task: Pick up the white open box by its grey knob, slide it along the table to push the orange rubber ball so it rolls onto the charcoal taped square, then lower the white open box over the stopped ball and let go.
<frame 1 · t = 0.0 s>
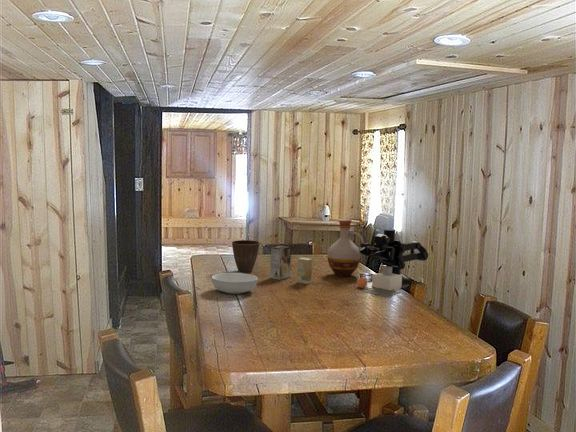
hand: (367, 252, 264), 17 cm above the table, tool horizontal, fingers open, 9 cm apart
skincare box: (304, 283, 269), on the table
plant pot: (245, 271, 293), on the table
serving bowl: (234, 292, 247), on the table
coffee box: (280, 278, 280), on the table
ball: (361, 282, 262), on the table
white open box: (386, 287, 265), on the table
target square: (382, 292, 254), on the table
jug: (344, 275, 291), on the table
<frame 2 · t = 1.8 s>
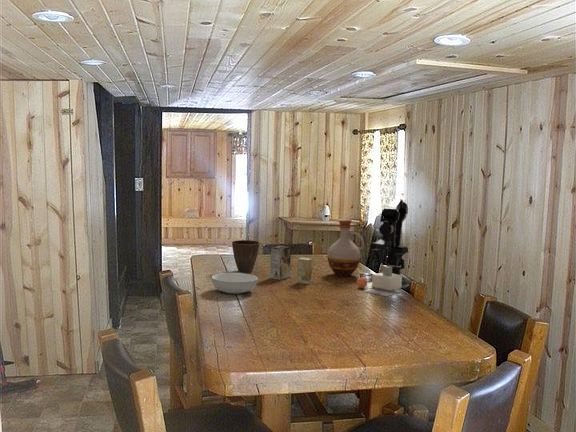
hand: (387, 265, 264), 11 cm above the table, tool pointing down, fingers open, 9 cm apart
nothing on the table moved.
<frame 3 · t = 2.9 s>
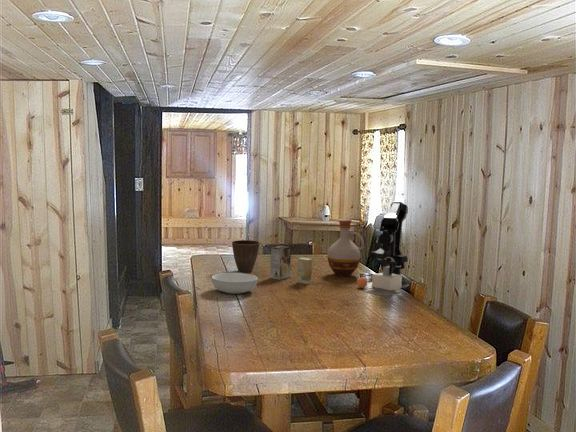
hand: (387, 274, 264), 6 cm above the table, tool pointing down, fingers closed on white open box, 3 cm apart
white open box: (386, 287, 265), on the table, touching gripper
everything else where it was.
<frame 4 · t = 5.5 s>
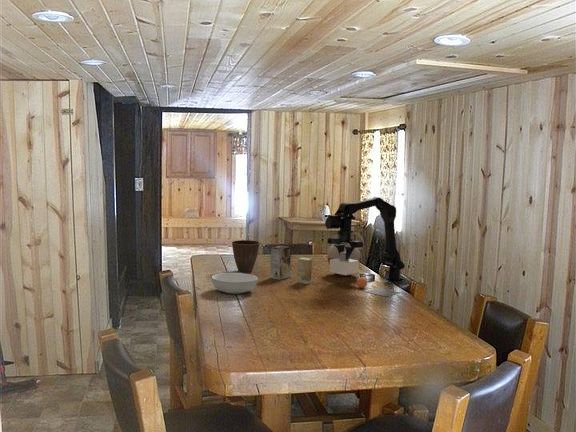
hand: (344, 259, 269), 12 cm above the table, tool pointing down, fingers closed on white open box, 3 cm apart
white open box: (343, 272, 269), point 6 cm above the table, touching gripper
everything else where it was.
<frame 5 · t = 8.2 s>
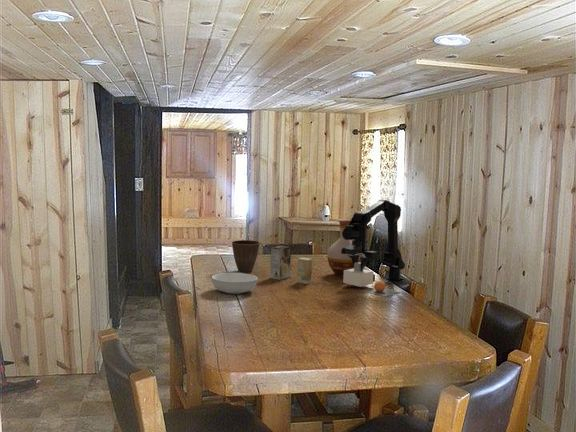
hand: (358, 270, 263), 8 cm above the table, tool pointing down, fingers closed on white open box, 3 cm apart
ball: (379, 286, 254), on the table
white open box: (358, 283, 263), point 2 cm above the table, touching gripper
everything else where it was.
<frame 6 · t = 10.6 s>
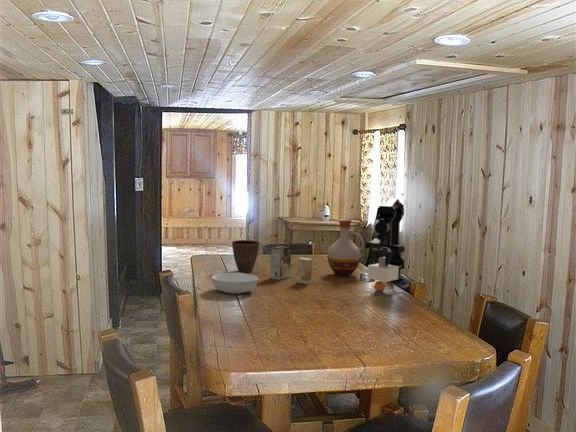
hand: (383, 265, 252), 13 cm above the table, tool pointing down, fingers closed on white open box, 3 cm apart
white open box: (382, 278, 253), point 7 cm above the table, touching gripper
everything else where it was.
when the fingers open (7 cm above the table, at t = 12.6 s): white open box stays where it is, on the table.
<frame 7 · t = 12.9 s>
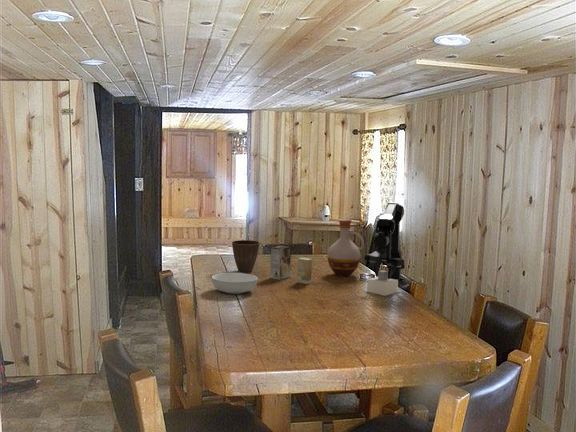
hand: (382, 277, 253), 7 cm above the table, tool pointing down, fingers open, 6 cm apart
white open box: (382, 292, 253), on the table
everything else where it was.
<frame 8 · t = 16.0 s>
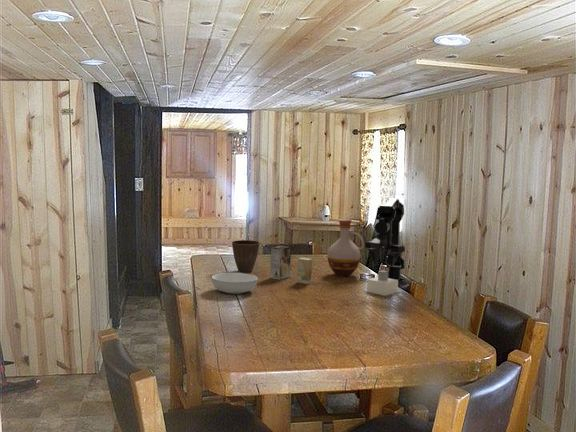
hand: (383, 265, 252), 13 cm above the table, tool pointing down, fingers open, 9 cm apart
nothing on the table moved.
at the end: ball 1.5 cm from the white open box (horizontally); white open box on the table; ball moved 10.6 cm from its start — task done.
